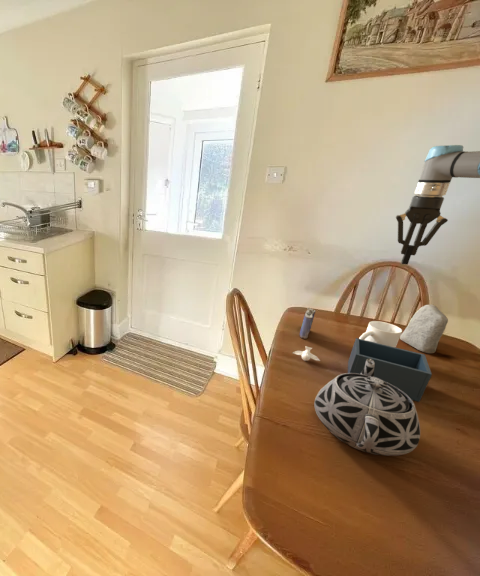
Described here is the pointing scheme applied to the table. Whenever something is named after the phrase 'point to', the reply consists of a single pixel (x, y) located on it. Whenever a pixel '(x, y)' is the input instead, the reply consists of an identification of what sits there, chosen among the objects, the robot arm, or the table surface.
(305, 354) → the toy bird
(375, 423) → the teapot
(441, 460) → the table surface
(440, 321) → the decorative stone
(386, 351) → the box
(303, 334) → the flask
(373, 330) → the mug
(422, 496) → the table surface
